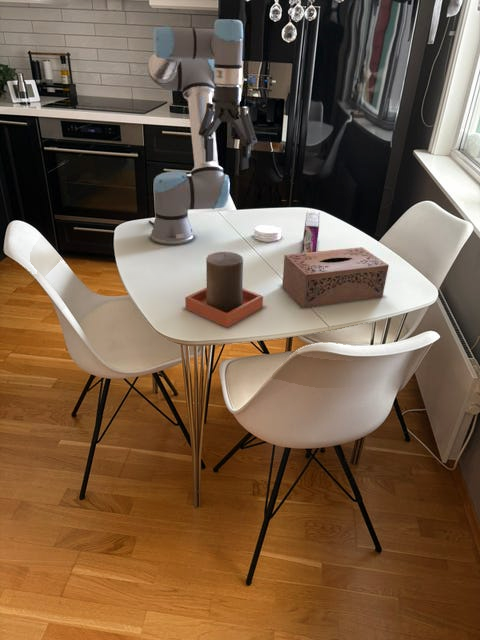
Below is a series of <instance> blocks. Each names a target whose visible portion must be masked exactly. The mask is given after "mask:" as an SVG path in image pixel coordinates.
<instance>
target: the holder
mask: <svg viewBox="0 0 480 640" xmlns="http://www.w3.org/2000/svg"><path fill="white" fill-rule="evenodd" d="M206 296H207V294H206V287H204V288H202V289H200V290H198V291H196V292H193V293H192V294H189V295H187V296H185V297H184V300H185V301H184V302H185V303H184V304H185V305H184V306H185V308H184V309H185V310H187V311H189V312H192V313H194V314H196V315H198V316H201V317H203V318H205V319H207V320H209V321H212V322H213V323H215V324H218V325H220V326H222V327H224V328H229V327H231V326H233V325H235V324H236V323H237V322H240V321H241V320H243V319H244V318H246V317H248V316H250V315H252V314H254V313H255V312H257V311H258V310H260V309H263V307H264V296H263V295H261V294H259V293H256V292H254V291H251V290H249V289H246V288H243V287H242V305H241V306H239V307H238V308H236V309H234V310H232V311H230V312H228V313H225V312H223V311H221V310H218V309H216V308H214V307H211V306H209V305H207V299H206Z"/></svg>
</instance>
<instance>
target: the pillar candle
mask: <svg viewBox="0 0 480 640" xmlns="http://www.w3.org/2000/svg"><path fill="white" fill-rule="evenodd" d="M205 264H206V265H205V266H206V269H205V270H206V275H205V276H206V287H205V288H206V294H207V296H206V299H207V305H209V306H211V307H214V308H216V309H218V310H221V311H223V312H225V313H228V312H230V311H232V310H234V309H236V308H238V307H239V306H241V305H242V288H243V283H244V282H243V277H244V276H243V275H244V257H243V256H242V255H241V254H239V253H237V252H234V251H218V252H213V253H212V252H211V253H209V254H207V256H206V263H205Z"/></svg>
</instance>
